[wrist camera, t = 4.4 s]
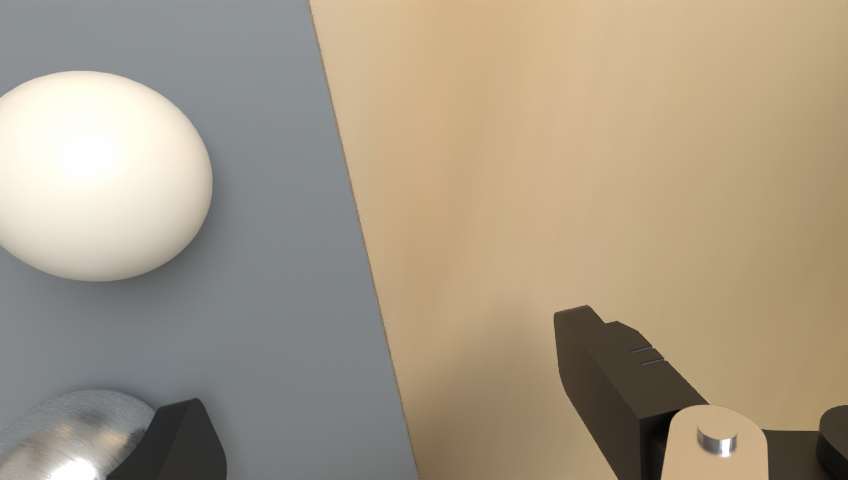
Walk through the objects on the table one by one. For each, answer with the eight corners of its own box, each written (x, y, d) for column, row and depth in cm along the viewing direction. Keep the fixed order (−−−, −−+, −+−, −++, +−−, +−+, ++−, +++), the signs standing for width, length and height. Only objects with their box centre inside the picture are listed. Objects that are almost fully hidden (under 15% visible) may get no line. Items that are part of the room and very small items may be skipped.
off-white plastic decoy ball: (197, 51, 10) (131, 52, 7) (250, 221, 11) (216, 289, 8) (6, 86, 10) (-160, 104, 6) (83, 256, 11) (-21, 343, 8)
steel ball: (180, 356, 11) (32, 479, 8) (226, 483, 12) (112, 634, 9) (59, 358, 12) (-115, 468, 9) (112, 475, 13) (-27, 609, 10)
